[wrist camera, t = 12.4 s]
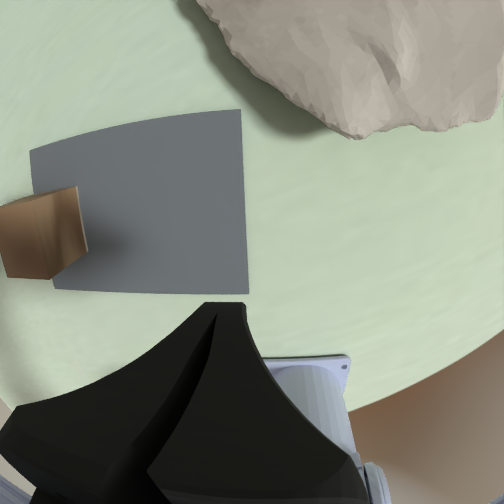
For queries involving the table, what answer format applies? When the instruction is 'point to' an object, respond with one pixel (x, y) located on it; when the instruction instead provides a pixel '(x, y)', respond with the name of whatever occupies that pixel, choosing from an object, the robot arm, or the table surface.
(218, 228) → the mat
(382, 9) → the rock
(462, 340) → the table surface
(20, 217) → the cube
